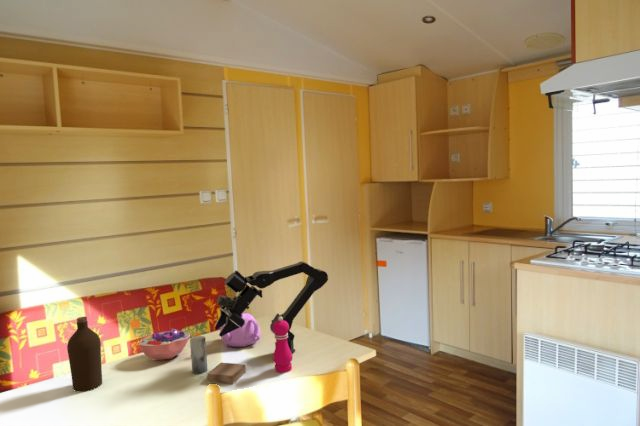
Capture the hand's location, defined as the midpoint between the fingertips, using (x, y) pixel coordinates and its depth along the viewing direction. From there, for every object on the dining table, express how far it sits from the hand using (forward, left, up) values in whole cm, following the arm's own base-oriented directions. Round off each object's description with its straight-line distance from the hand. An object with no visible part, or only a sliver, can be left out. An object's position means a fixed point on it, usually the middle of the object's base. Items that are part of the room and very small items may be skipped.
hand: (217, 332), depth 174 cm
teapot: (+5, -24, -14) cm, 28 cm away
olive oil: (+40, +24, -14) cm, 48 cm away
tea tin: (+6, +5, -14) cm, 16 cm away
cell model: (+28, -5, -14) cm, 31 cm away
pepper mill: (-25, -2, -14) cm, 29 cm away
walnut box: (-7, +8, -13) cm, 17 cm away
